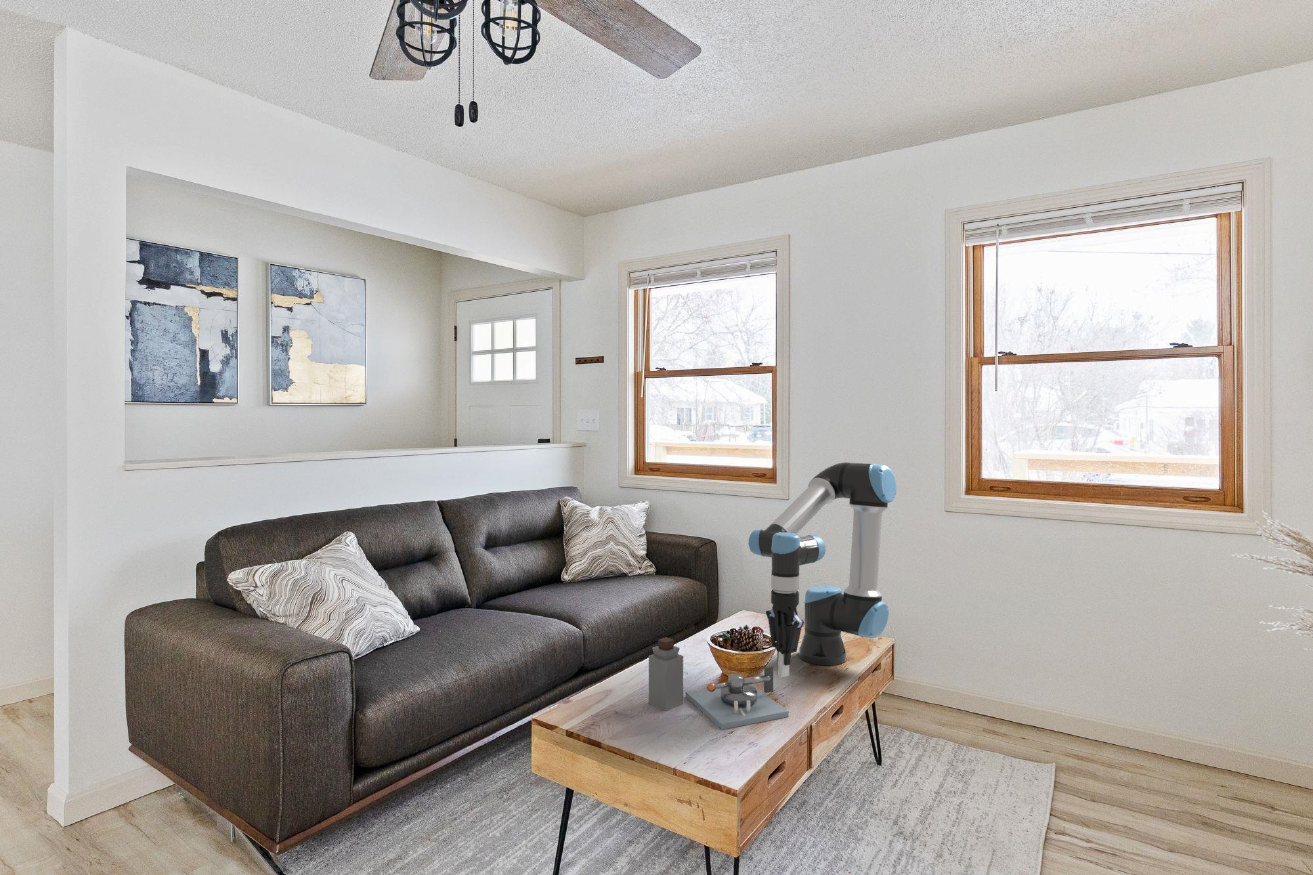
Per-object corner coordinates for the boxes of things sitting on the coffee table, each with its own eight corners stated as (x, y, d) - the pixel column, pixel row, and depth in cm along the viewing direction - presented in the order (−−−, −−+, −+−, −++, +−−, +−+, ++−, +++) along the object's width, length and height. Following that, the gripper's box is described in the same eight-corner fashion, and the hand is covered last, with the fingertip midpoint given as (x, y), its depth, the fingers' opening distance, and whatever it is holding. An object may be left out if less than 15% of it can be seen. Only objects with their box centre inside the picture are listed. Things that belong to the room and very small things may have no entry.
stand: (747, 686, 207) (747, 671, 207) (788, 716, 187) (788, 699, 187) (685, 696, 200) (685, 681, 200) (721, 729, 179) (721, 712, 179)
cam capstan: (715, 710, 185) (715, 683, 185) (699, 696, 195) (699, 670, 194) (781, 698, 193) (782, 672, 193) (763, 685, 202) (763, 660, 202)
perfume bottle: (665, 696, 200) (665, 634, 199) (683, 703, 195) (683, 639, 195) (648, 703, 195) (648, 639, 195) (666, 711, 191) (666, 645, 190)
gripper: (812, 593, 188) (810, 680, 189) (779, 583, 200) (777, 665, 200) (791, 597, 184) (789, 685, 185) (758, 586, 195) (757, 670, 196)
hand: (783, 675), depth 193 cm, fingers closed
